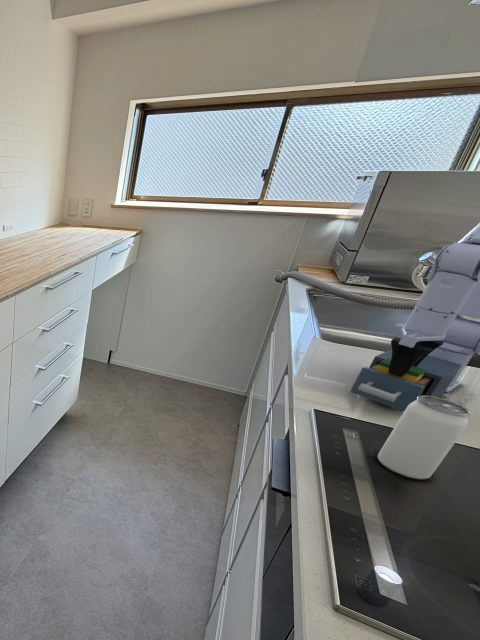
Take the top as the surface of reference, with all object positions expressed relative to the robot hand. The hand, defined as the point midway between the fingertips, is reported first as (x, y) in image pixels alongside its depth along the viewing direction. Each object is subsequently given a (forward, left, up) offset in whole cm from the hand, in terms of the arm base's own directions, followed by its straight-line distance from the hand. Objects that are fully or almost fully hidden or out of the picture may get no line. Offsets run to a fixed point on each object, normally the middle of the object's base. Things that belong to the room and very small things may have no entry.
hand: (399, 372), depth 84 cm
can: (+26, +11, -7) cm, 29 cm away
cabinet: (-9, 0, -7) cm, 12 cm away
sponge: (0, 0, -1) cm, 1 cm away
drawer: (+1, 0, -6) cm, 6 cm away
